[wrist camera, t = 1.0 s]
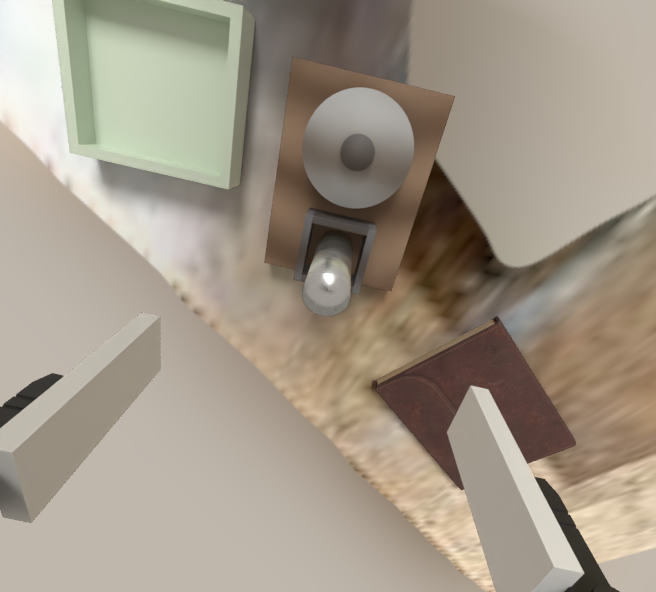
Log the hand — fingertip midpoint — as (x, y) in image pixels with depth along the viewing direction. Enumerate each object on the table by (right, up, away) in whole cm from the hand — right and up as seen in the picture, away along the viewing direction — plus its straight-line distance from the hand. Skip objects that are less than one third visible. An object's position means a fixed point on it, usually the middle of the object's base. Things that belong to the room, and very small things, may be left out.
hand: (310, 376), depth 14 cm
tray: (-12, +20, +13) cm, 27 cm away
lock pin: (+1, +8, +16) cm, 18 cm away
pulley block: (+3, +13, +15) cm, 20 cm away
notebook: (+18, -9, +26) cm, 33 cm away
